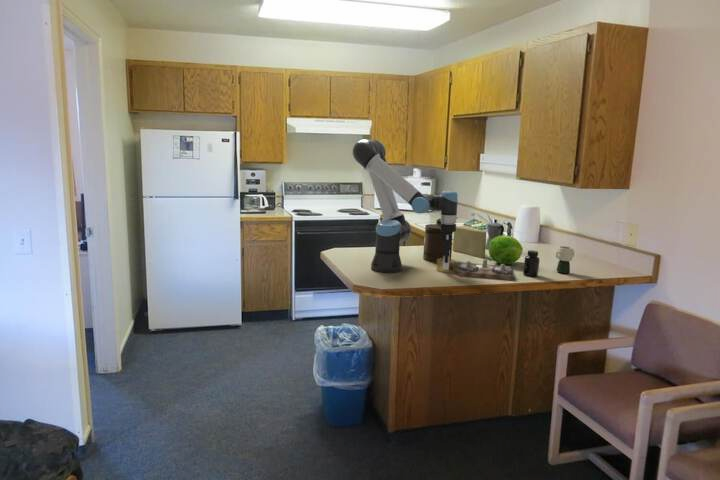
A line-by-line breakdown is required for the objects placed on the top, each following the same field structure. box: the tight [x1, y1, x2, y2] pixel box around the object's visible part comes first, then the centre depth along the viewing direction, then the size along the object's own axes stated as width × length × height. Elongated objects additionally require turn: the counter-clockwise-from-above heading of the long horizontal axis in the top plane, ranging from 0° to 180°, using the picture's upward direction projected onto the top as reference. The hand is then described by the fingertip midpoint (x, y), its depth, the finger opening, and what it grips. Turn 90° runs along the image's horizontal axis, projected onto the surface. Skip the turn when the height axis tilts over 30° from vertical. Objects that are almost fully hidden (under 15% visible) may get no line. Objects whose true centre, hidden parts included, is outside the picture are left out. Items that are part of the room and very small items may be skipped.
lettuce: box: [487, 234, 524, 265], centre depth 271 cm, size 17×20×15 cm
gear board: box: [456, 258, 515, 281], centre depth 250 cm, size 26×20×6 cm
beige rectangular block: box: [452, 225, 487, 259], centre depth 291 cm, size 22×10×15 cm, turn 29°
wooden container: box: [422, 218, 454, 263], centre depth 273 cm, size 15×15×22 cm
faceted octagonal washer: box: [436, 258, 455, 273], centre depth 253 cm, size 8×8×5 cm
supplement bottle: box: [522, 249, 540, 278], centre depth 248 cm, size 7×7×12 cm
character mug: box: [555, 245, 575, 274], centre depth 256 cm, size 11×7×13 cm, turn 109°
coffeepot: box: [485, 219, 505, 251], centre depth 305 cm, size 15×9×18 cm, turn 19°
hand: (446, 265), depth 252 cm, fingers open, 13 cm apart
